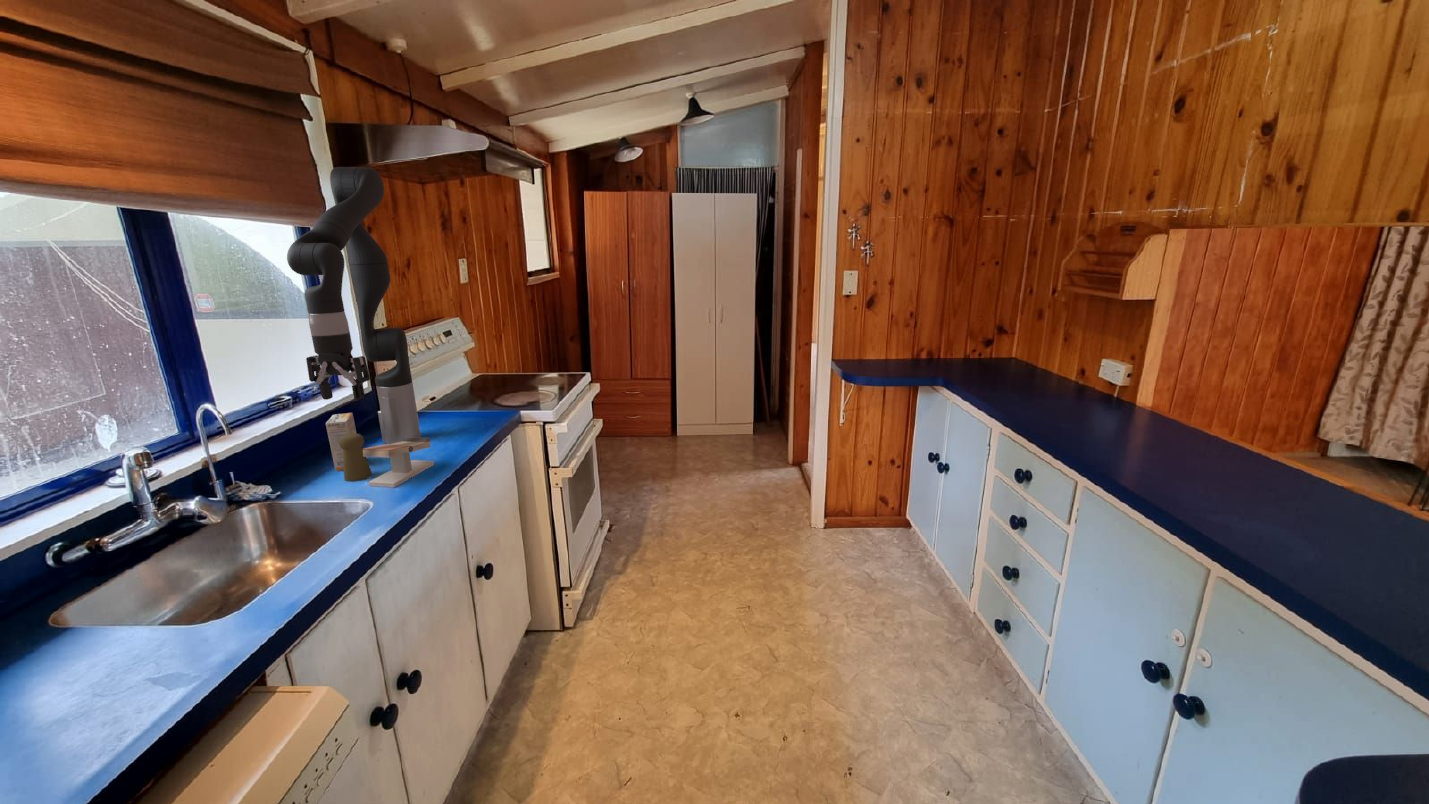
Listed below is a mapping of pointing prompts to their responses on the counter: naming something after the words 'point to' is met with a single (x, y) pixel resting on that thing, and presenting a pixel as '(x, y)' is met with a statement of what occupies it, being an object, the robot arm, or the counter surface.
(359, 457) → the cork
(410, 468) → the seesaw stand
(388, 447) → the seesaw
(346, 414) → the supplement box
